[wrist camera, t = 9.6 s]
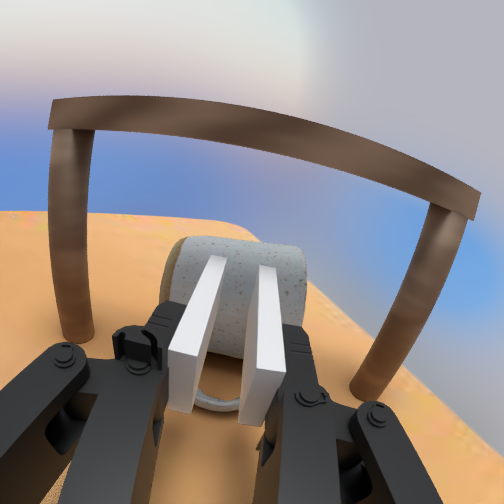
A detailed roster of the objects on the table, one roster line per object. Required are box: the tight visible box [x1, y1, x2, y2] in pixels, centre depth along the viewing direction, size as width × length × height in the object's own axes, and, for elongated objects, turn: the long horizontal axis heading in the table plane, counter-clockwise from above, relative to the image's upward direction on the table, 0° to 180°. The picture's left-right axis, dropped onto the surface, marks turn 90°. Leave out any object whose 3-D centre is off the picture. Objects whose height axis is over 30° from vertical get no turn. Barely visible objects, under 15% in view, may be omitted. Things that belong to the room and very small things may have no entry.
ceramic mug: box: [159, 236, 307, 412], centre depth 16 cm, size 11×8×8 cm
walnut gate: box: [48, 96, 481, 402], centre depth 13 cm, size 22×2×14 cm, turn 88°
